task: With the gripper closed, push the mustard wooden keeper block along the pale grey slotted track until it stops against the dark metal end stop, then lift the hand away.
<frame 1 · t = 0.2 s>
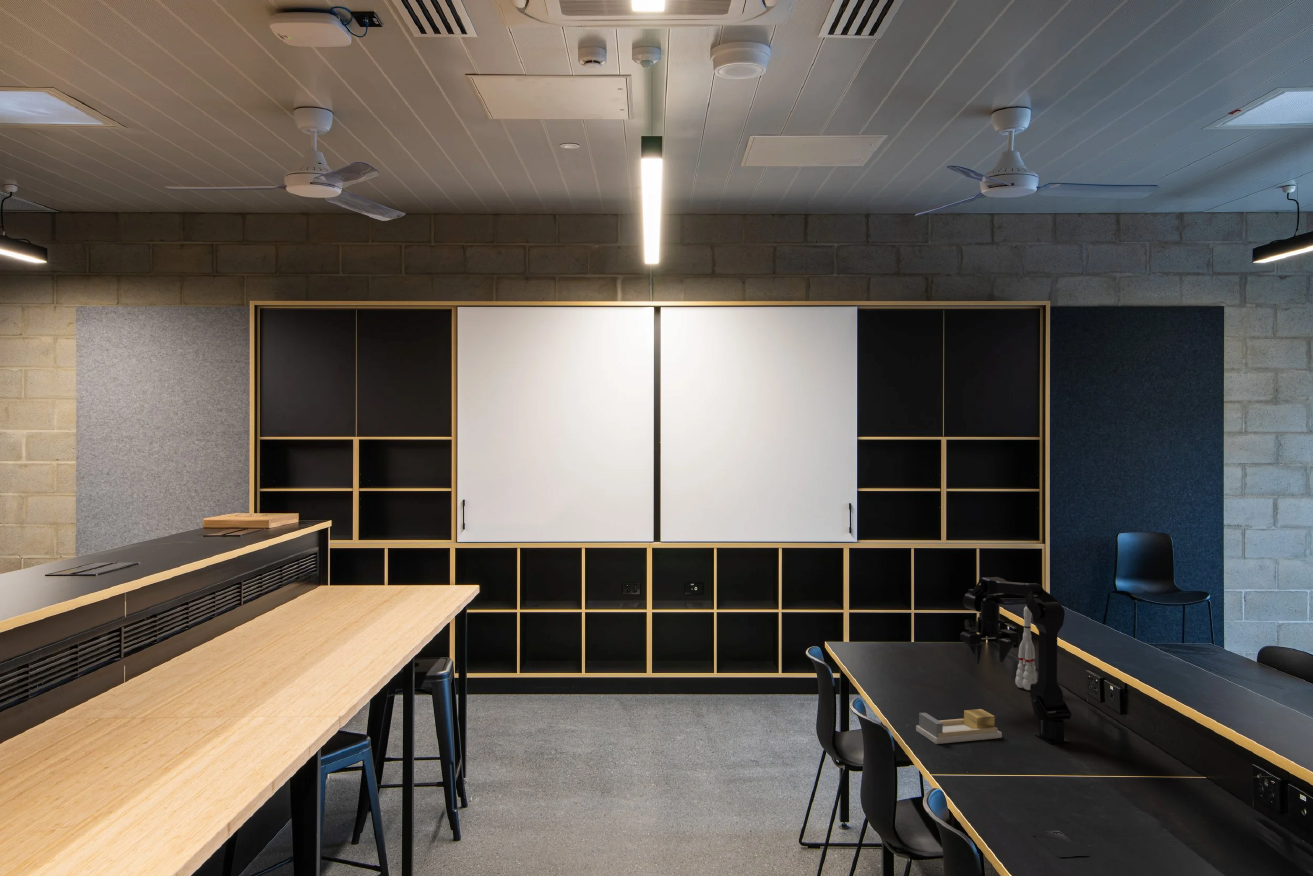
hand: (989, 663, 249), 14 cm above the table, fingers open, 9 cm apart
rocket model: (1026, 689, 268), on the table
solid state drive: (1058, 847, 165), on the table
track: (958, 734, 225), on the table
keeper: (979, 720, 227), point 4 cm above the table, slide at 0.0 cm
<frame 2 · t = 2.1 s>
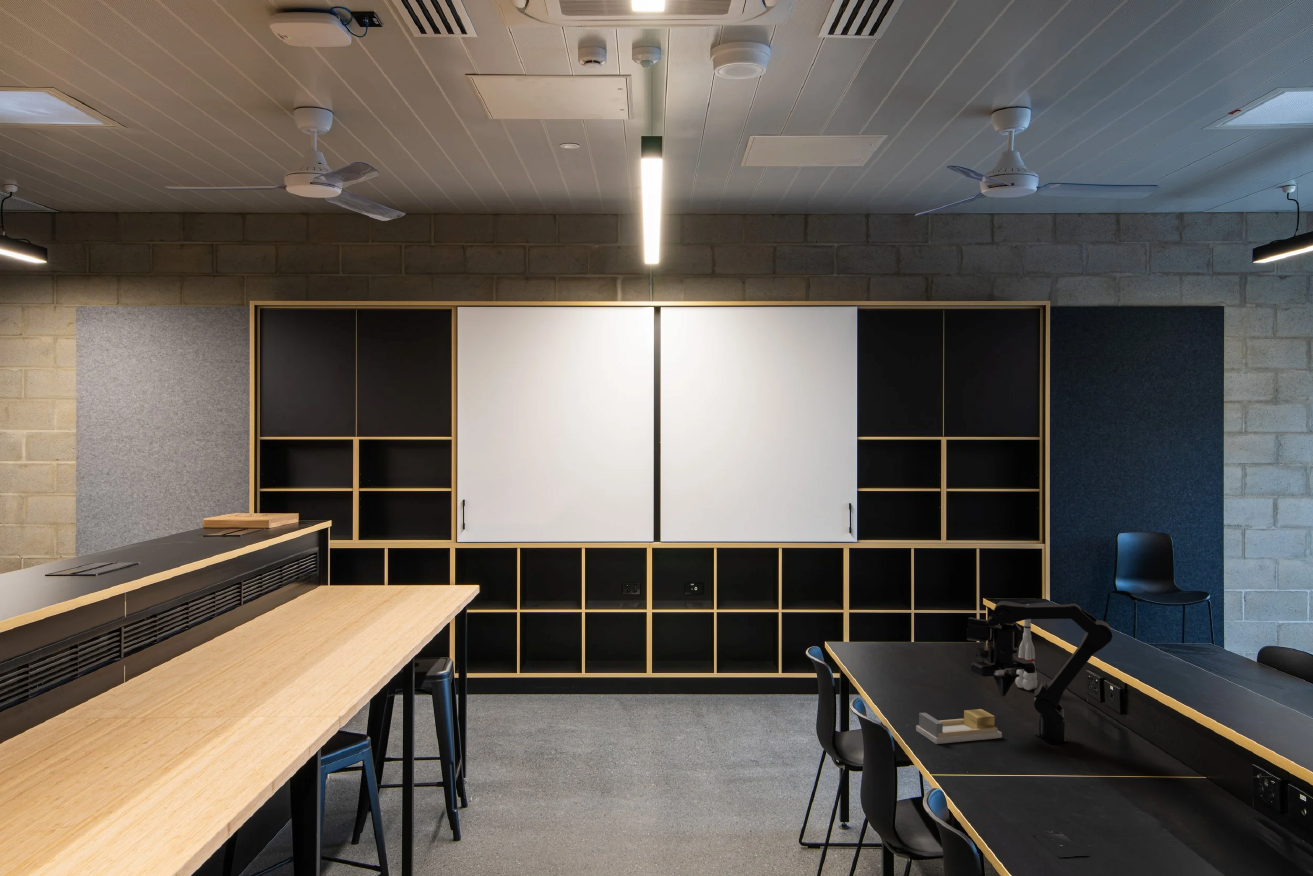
hand: (1002, 696, 229), 10 cm above the table, fingers closed
nothing on the table moved.
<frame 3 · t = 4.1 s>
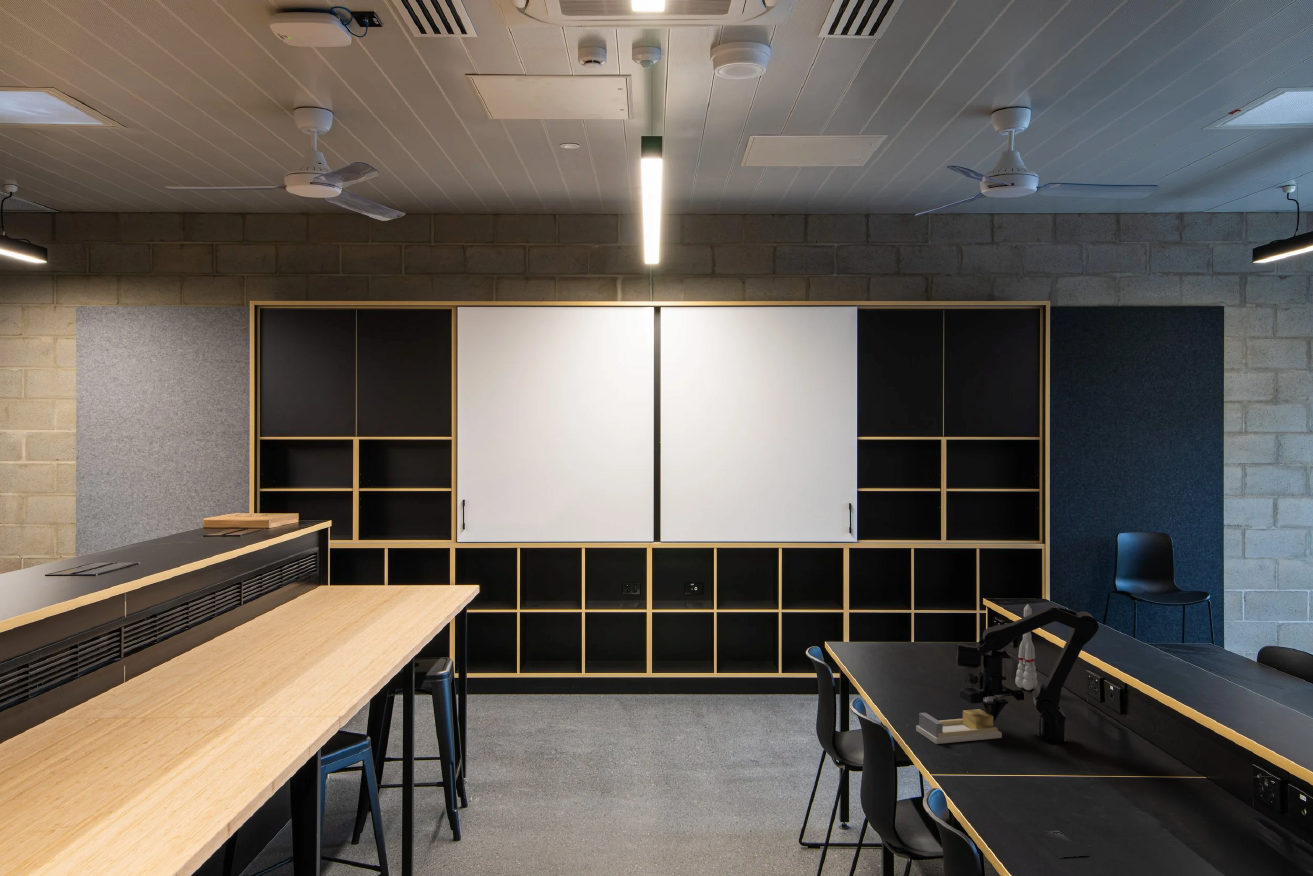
hand: (991, 722, 228), 3 cm above the table, fingers closed
keeper: (977, 720, 227), point 4 cm above the table, slide at 0.4 cm, touching gripper
everything else where it was.
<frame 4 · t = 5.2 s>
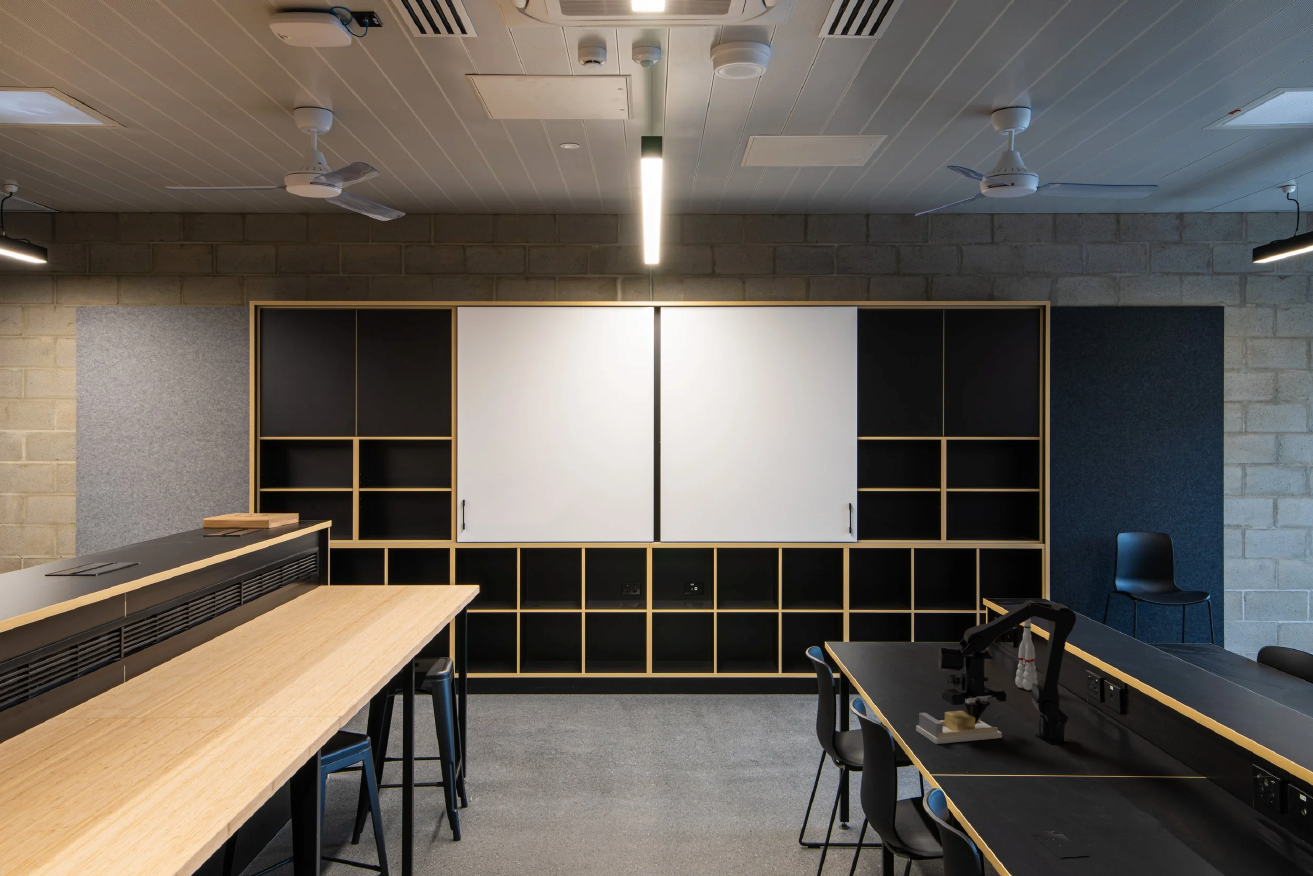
hand: (973, 723, 227), 3 cm above the table, fingers closed
keeper: (959, 721, 225), point 4 cm above the table, slide at 6.7 cm, touching gripper
everything else where it was.
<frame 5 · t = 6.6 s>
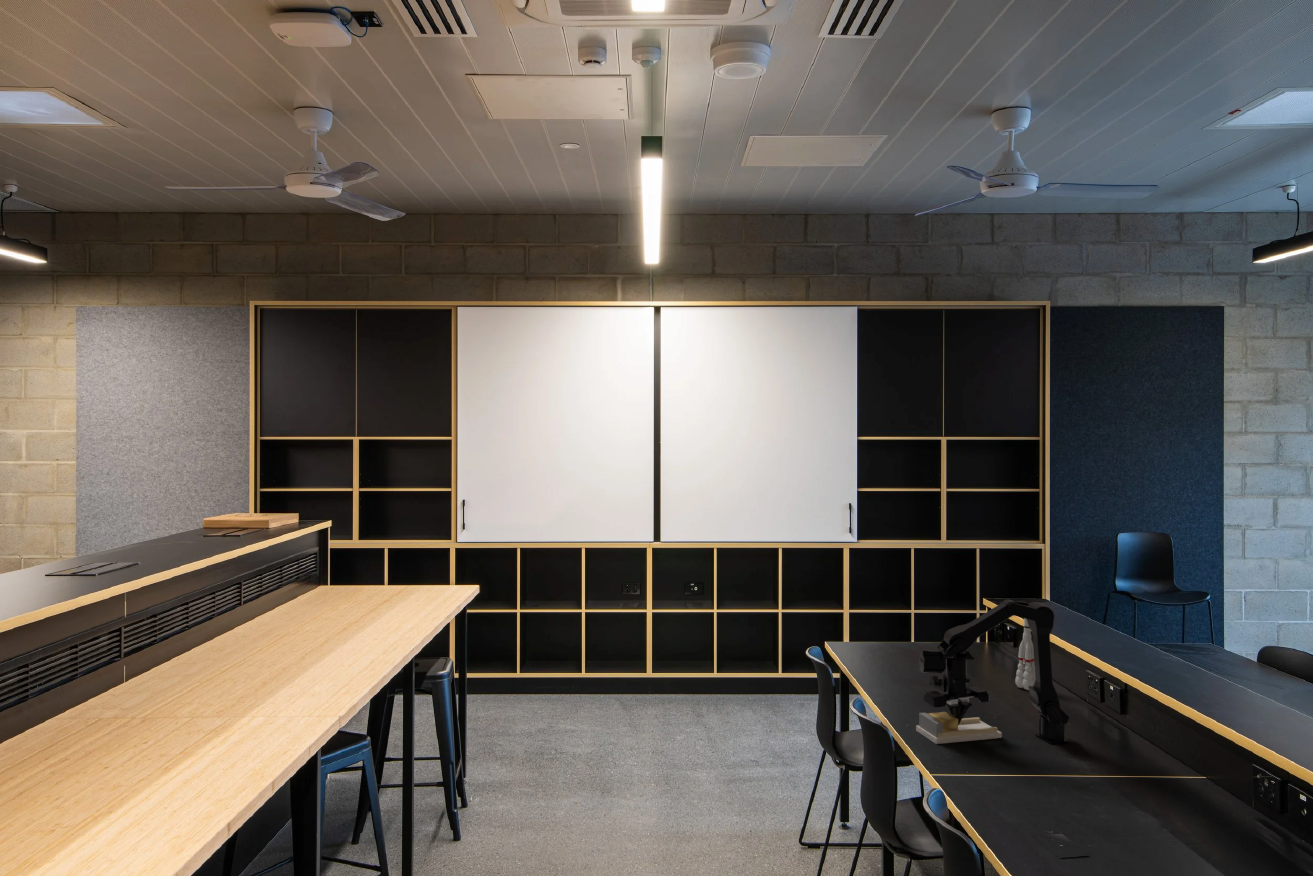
hand: (956, 725, 225), 3 cm above the table, fingers closed
keeper: (942, 723, 224), point 4 cm above the table, slide at 12.4 cm, touching gripper
everything else where it was.
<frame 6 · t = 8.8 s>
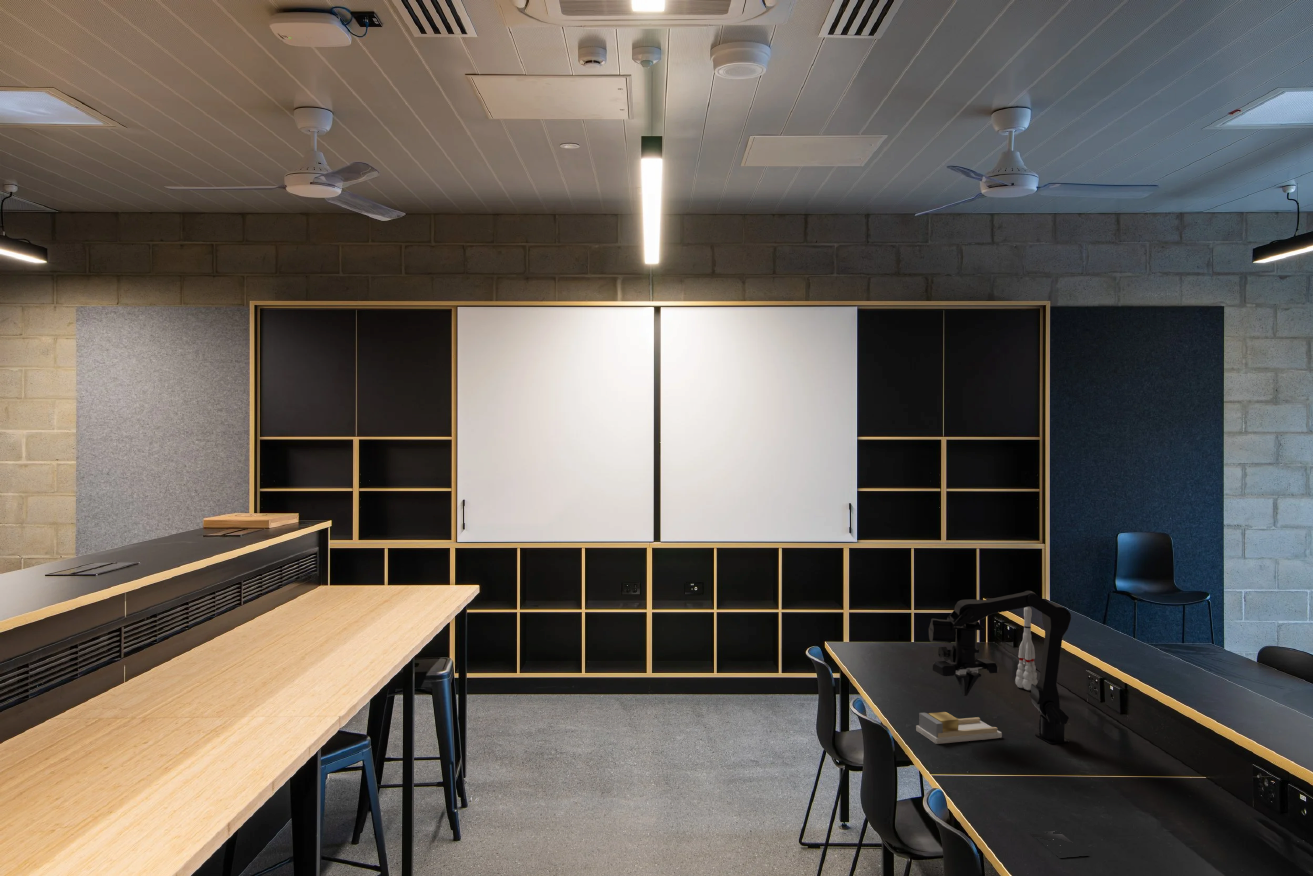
hand: (964, 695, 226), 11 cm above the table, fingers closed
keeper: (943, 723, 224), point 4 cm above the table, slide at 12.3 cm
everything else where it was.
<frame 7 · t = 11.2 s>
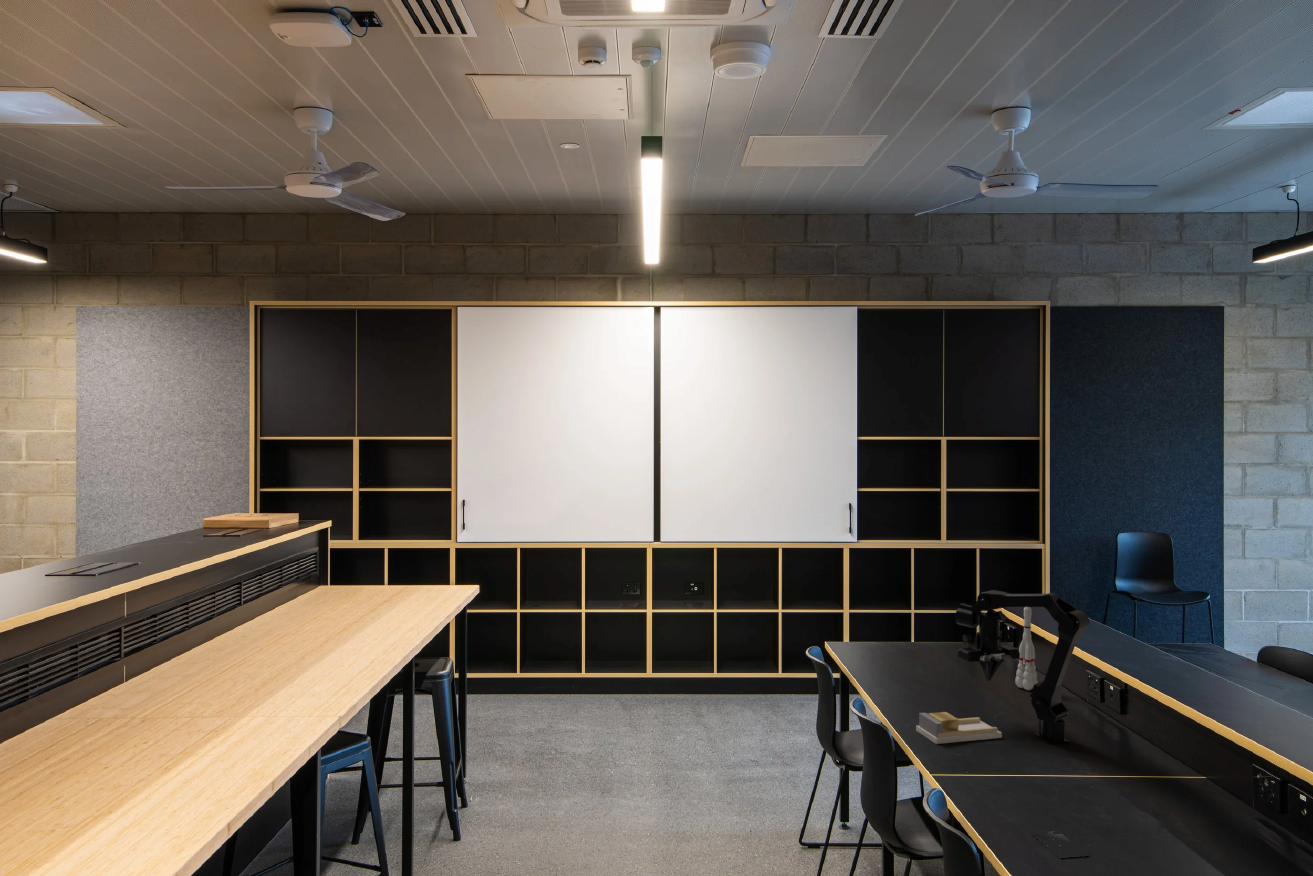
hand: (988, 680, 238), 12 cm above the table, fingers closed
nothing on the table moved.
at the end: keeper slide at 12.3 cm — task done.
